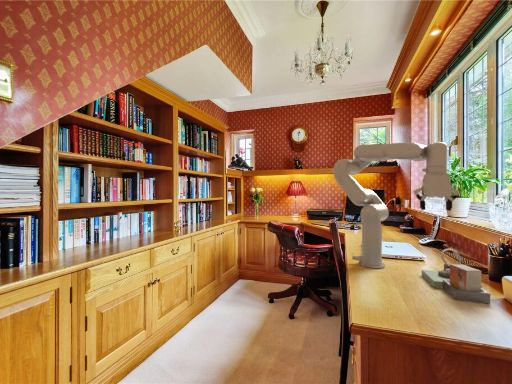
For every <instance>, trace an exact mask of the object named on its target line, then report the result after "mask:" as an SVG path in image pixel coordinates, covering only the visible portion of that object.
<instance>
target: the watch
mask: <svg viewBox="0 0 512 384" xmlns="http://www.w3.org/2000/svg"><path fill="white" fill-rule="evenodd" d="M447 251H452V254H453V255H454V257H455V258H456V259H457V262H456V263H455V264H457V265H461V263H462V257H461V256H460V253H458V251H457V249H453V248H445V249H443V250H441V252H440V258H441V261H443V271H445V269H446V268H447V269H450V264H451V263H447V260H445V259H444V255H443V254H444V252H447Z"/></svg>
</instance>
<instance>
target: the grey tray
mask: <svg viewBox="0 0 512 384" xmlns="http://www.w3.org/2000/svg"><path fill="white" fill-rule="evenodd" d="M449 282H450V280H444V279H443V288H442V290H444V291H445V292H447V294H448V295H449V296H450V297H452V298H453V299H454V300H455V301H459V302H462V301H463V302H469V301H470V302H471V303H480V304H488V305H490V304H491V293H490V292H488V291H487V290H485V289H484V288H483V287H482V288H481V292H478V291H468V290H458V289H457V288H456V287H454V286H453V285H452V284H451V283H449Z"/></svg>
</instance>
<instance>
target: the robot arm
mask: <svg viewBox="0 0 512 384" xmlns="http://www.w3.org/2000/svg"><path fill="white" fill-rule="evenodd" d="M353 156H354V158H353V159H349V158H342V159H339V160H337V161H336V162H335V164H334V166H333V171H332V173H333V177H334V180H335V181H336V183H337V184H338V185H339V187H340V188H341V189H342V190H343V192H344V193H345V195H346V196H347V197H348V199H349V200H350V201H351V202H352V203H353V204H354V205H355V206H359V207H362V208H361V210H360V222H361V254H360V255H352V260H355V261H358V262H357V263H358V265H359V266H361V267H364V268H369V269H384V268H385V267H386V263H384V262H383V261H382V260H383V258H382V257H383V255H382V254H383V252H382V251H383V227H382V223H381V222H384V221H385V220H386V219H387V218H388V217H389V214H390V213H389V212H390V211H389V208H388V207H387V206H386V204H385V203H384V202H383V201H382V199H381V198H380V197H379V196H378V195H377V193H375V192H374V191H373V190H372V189H370V188H366V187H365V188H364V187H362V186H361V185H360V183H359V182H358V181H357V180H356V179H355V178H354V177H353V176H354V175H358V174H359V173H361V172H363V170H364V169H365V168H367V167H368V166H369V165H370V164H372V163H373V162H387V161H390V160H410V161H413V162H423V161H425V168H422V170H421V171H422V173H423V172H424V173H425V174H423V179H422V183H421V187H419V188H417V189H415V190H413V191H412V192H413V195H414V197H416V198H417V199H418V201H419V208H420V209H421V210H422V211H425V210H426V201H425V199H427V197H429V198H430V197H431V198H433V197H436V198H439V197H440V198H445V199H446V202H445V210H446V211H452V209H453V201H454V200H456V199H457V198H458V196H459V194H460V193H461V192H460V191H459V190H458V189H456V188H453V187H452V183H451V176H450V174H449V173H448V171H447V169H448V168H447V167H448V145H447V143H446V142H444V141H443V142H442V141H437V142H430V143H428V144H427V145H425V144H420V143H417V142H394V143H378V144H377V143H376V144H375V143H374V144H373V143H372V144H370V143H369V144H359V145H357V146H356V147H355V148H354V150H353ZM420 192H421V195H420V194H419V193H420ZM452 193H453V195H452Z"/></svg>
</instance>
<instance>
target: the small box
mask: <svg viewBox="0 0 512 384" xmlns="http://www.w3.org/2000/svg"><path fill="white" fill-rule="evenodd" d="M449 264H450V282H449V283H451V284H452V285H453V286H454V287H456V288H457V289H458V290H468V291H478V292H481V285H482V270H480V269H477V268H473V267H470V266H468V265H466V264H459V265H457V264H456V263H454V264H453V263H449Z"/></svg>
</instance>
